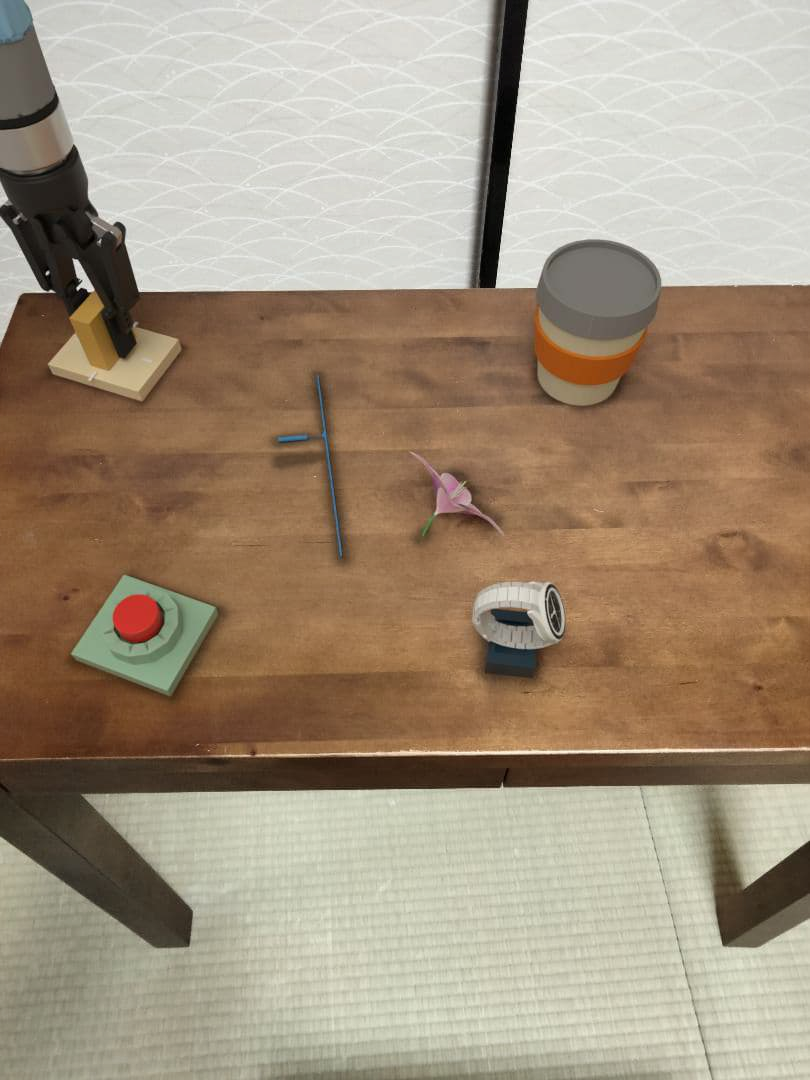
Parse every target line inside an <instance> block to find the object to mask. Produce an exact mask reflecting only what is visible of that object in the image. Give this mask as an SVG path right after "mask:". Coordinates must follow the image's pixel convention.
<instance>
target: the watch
mask: <svg viewBox="0 0 810 1080" xmlns="http://www.w3.org/2000/svg"><path fill="white" fill-rule="evenodd" d="M502 608H503V609H502ZM504 608H515V609H524V610H527V611H521V610H511V609H504ZM489 610H490V611H489ZM471 618H472V621H471V622H472V624H473V626H474V628H475V630H476V631H477V633H478V634H479V635H480V636H481V638H483V639H484V640H486V652H485V664H484V673H485V674H491V675H492V674H493V675H500V676H508V677H517V678H525V679H533V678H534V675H535V672H536V668H537V650H538V649H544V648H547V647H550V646H552V645H557V644H559V642H560V641H562V640H563V638H564V636H565V632H566V614H565V607H564V602H563V599H562V596H561V593H560V591H559V590H558V588H557V586H556V585H555V584H554V583H553V582H552V581H545V582H544V583H543V582H539V581H535V580H531V581H528V582H523V581H504V582H497V583H494V584H491V585H489V586H486V587H485V588H483V589H481V590H480V591H479V592H478V593H477V595H476V596H475V600H474V601H473V607H472V617H471Z"/></svg>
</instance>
